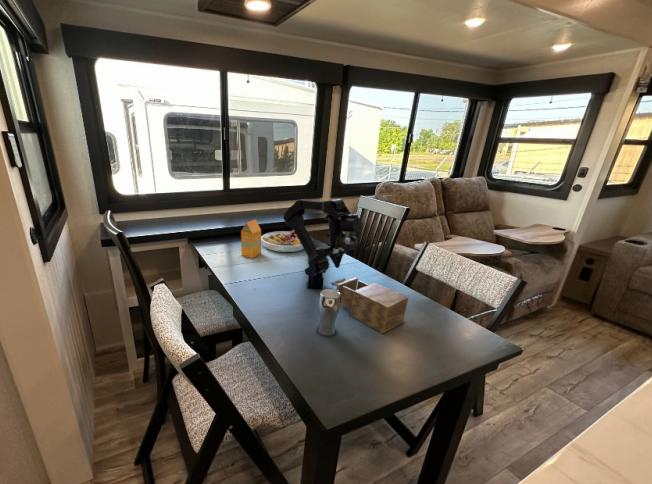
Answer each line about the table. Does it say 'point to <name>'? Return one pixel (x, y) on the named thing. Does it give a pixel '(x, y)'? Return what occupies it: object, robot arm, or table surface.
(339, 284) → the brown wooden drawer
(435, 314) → the table surface
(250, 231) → the orange juice
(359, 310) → the wooden box
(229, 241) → the table surface
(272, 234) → the bowl
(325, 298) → the beer glass
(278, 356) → the table surface
